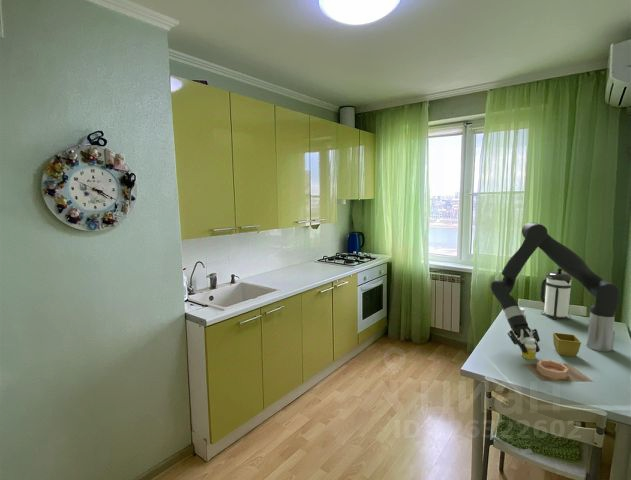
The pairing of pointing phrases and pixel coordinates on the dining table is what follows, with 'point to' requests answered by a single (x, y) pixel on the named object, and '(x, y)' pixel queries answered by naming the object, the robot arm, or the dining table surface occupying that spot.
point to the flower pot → (566, 344)
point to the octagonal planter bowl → (552, 369)
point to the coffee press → (556, 294)
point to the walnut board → (572, 376)
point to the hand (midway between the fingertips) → (531, 352)
